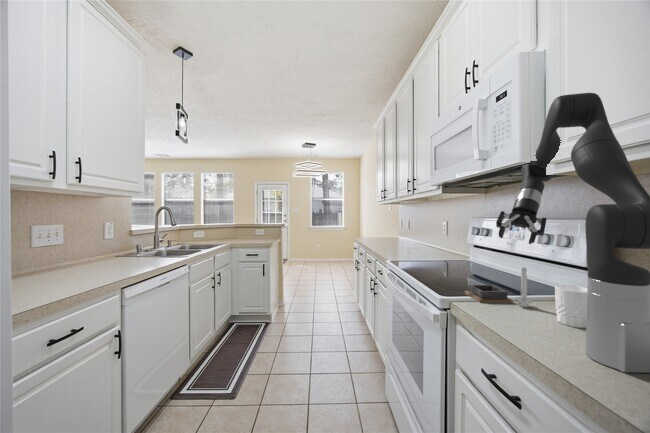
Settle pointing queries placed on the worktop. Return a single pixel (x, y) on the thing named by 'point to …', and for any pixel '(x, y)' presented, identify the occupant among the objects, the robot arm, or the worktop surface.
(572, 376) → the worktop surface
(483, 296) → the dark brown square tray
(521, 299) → the screw
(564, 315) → the white cup
